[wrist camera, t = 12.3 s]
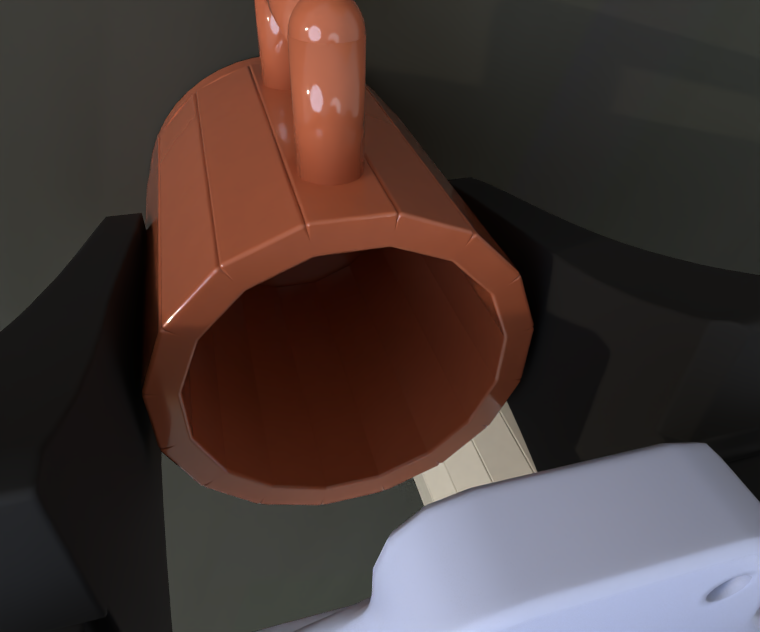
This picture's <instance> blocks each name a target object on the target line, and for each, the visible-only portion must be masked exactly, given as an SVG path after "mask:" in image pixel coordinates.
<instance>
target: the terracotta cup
mask: <svg viewBox="0 0 760 632" xmlns="http://www.w3.org/2000/svg"><path fill="white" fill-rule="evenodd" d="M254 3H255V14H256V24H257V35H258V45H259V56H260V57H255V58H251V59H247V60H244V61H240V62H237V63H234V64H232V65H229V66H227V67H225V68H222V69H220V70H218V71H216V72H215V73H213V74H211V75H210V76H208V77H206V78H205V79H203V80H202V81H200V82H199V83H198V84H197V85H196V86H194V87H193V88H192V89H191V90H189V91H188V92H187V93H186V94H185V95H184V96H183V98H182V99H181V100H180V101H179V102H178V103H177V104H176V105H175V107H174V108H173V109H172V111H171V112H170V114H169V115H168V117H167V118H166V120H165V122H164V124H163V126H162V128H161V130H160V132H159V134H158V136H157V139H156V142H155V146H154V149H153V152H152V158H151V165H150V175H149V179H148V184H147V204H146V252H145V279H144V317H143V355H142V398H143V402H144V405H145V408H146V411H147V414H148V417H149V420H150V423H151V426H152V429H153V432H154V436H155V439H156V442H157V445H158V446H159V448H160V450H161V452H163V453H164V454H165V455H166V456H167V457H168V458H169V459H171V460H172V461H173V462H174V463H175V464H176V465H178V466H179V467H180V468H181V469H182V470H183V471H185V472H186V473H187V474H188V475H189V476H190V477H192V478H193V479H194V480H195V481H196V482H197V483H199V484H200V485H202V486H203V485H204V486H205V487H206V488H209V489H212V490H215V491H219V492H222V493H225V494H228V495H231V496H234V497H237V498H241V499H244V500H247V501H250V502H253V503H256V504H257V503H261V504H263V505H321V504H324V505H325V504H330V503H334V502H339V501H343V500H348V499H352V498H356V497H361V496H365V495H370V494H374V493H378V492H381V491H383V490H388V489H390V488H392V487H394V486H396V485H398V484H400V483H402V482H404V481H407V480H409V479H411V478H413V477H415V476H417V475H419V474H421V473H423V472H426V471H428V470H430V469H432V468H434V467H436V466H438V465H439V463H443V462H444V461H445V460H447V459H448V458H449V457H450V456H452V455H453V454H454V453H455V452H457V451H458V450H459V449H461V448H462V447H463V446H464V445H466V444H467V443H468V442H469V441H471V440H472V439H473V438H474V437H476V436H477V435H478V434H479V433H481V432H482V431H483V430H484V429H486V427H487V426H489V425H490V424H491V422H492V421H493V419H494V418H495V417H496V415H497V414H498V412H499V411H500V410H501V408H502V407H503V405H504V404H505V403H506V401H507V400H508V398H509V397H510V396H511V394H512V393H513V391H514V390H515V389H516V387H517V386H518V384H519V383H520V381H521V378H522V376H523V372H524V368H525V364H526V360H527V356H528V352H529V348H530V344H531V340H532V336H533V332H534V328H533V326H534V322H533V318H532V314H531V310H530V307H529V303H528V299H527V295H526V292H525V288H524V284H523V280H522V276H521V275H520V274H519V271H518V270H517V269H516V267H515V266H514V265H513V263H512V262H511V261H510V260H509V258H508V257H507V256H506V254H505V253H504V252H503V251H502V249H501V248H500V247H499V245H498V244H497V243H496V242H495V240H494V239H493V238H492V237H491V235H490V234H489V233H488V231H487V230H486V229H485V228H484V226H483V225H482V224H481V222H480V221H479V220H478V219H477V217H476V216H475V215H474V213H473V212H472V211H471V210H470V208H469V207H468V206H467V204H466V203H465V202H464V201H463V199H462V198H461V197H460V196H459V194H458V193H457V192H456V190H455V189H454V188H453V187H452V185H451V184H450V183H449V181H448V180H447V179H446V178H445V176H444V175H443V174H442V172H441V171H440V170H439V169H438V167H437V166H436V165H435V164H434V162H433V161H432V160H431V158H430V157H429V156H428V155H427V153H426V152H425V151H424V149H423V148H422V147H421V146H420V144H419V143H418V142H417V140H416V139H415V138H414V137H413V135H412V134H411V133H410V132H409V130H408V129H407V128H406V126H405V125H404V124H403V123H402V121H401V120H400V119H399V117H398V116H397V115H396V114H395V113H394V112H393V111H392V110H391V109H390V108H389V107H388V106H387V105H386V104H385V103H384V101H383V100H382V99H381V98H380V97H379V96H378V95H377V93H376V92H375V91H374V90H373V89H371V88H370V87H369V86H368V85H367V84H366V83H365V80H366V26H365V21H364V17H363V15H362V13H361V11H360V9H359V7H358V5H357V4H356V3H355V2H354V0H254Z"/></svg>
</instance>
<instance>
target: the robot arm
mask: <svg viewBox="0 0 760 632" xmlns="http://www.w3.org/2000/svg"><path fill="white" fill-rule="evenodd" d="M448 181H449V183H450V184H451V185H452V187H453V188H454V189H455V190H456V192H457V193H458V194H459V196H460V197H461V198H462V199H463V201H464V202H465V203H466V204H467V206H468V207H469V208H470V210H471V211H472V212H473V213H474V215H475V216H476V217H477V219H478V220H479V221H480V222H481V224H482V225H483V226H484V228H485V229H486V230H487V231H488V233H489V234H490V235H491V237H492V238H493V239H494V240H495V242H496V243H497V244H498V245H499V247H500V248H501V249H502V251H503V252H504V253H505V254H506V256H507V257H508V258H509V260H510V261H511V262H512V263H513V265H514V266H515V267H516V269H517V270H518V271H519V274H520V275H521V276H522V280H523V284H524V288H525V292H526V295H527V299H528V303H529V307H530V310H531V314H532V318H533V322H534V326H533V328H534V332H533V336H532V340H531V344H530V348H529V352H528V356H527V360H526V364H525V368H524V372H523V376H522V378H521V381H520V383H519V384H518V386H517V387H516V389H515V390H514V391H513V393H512V394H511V396H510V397H509V398H508V400H507V403H508V405H509V407H510V409H511V412H512V414H513V416H514V418H515V421H516V423H517V425H518V427H519V429H520V432H521V434H522V436H523V439H524V441H525V443H526V446H527V448H528V451H529V453H530V455H531V458H532V460H533V463H534V465H535V467H536V470H537V472H536V473H532V474H528V475H523V476H519V477H515V478H510V479H506V480H502V481H498V482H493V483H489V484H485V485H480V486H476V487H472V488H469V489H466V490H464V491H461V492H458V493H456V494H453V495H451V496H448V497H446V498H443V499H440V500H438V501H435V502H433V503H430V504H428V505H426V506H424V507H423V508H422V509H421V510H419V511H418V512H417V513H415V514H414V515H413V516H412V517H410V518H409V519H408V520H406V521H405V522H404V523H403V524H401V525H400V526H399V527H397V528H396V529H395V530H394V531H392V533H391V534H390V536H389V538H388V539H387V541H386V543H385V545H384V547H383V549H382V551H381V553H380V555H379V557H378V559H377V561H376V564H375V566H374V568H373V580H372V597H370V598H367V599H365V600H363V601H360V602H358V603H356V604H354V605H351V606H347V607H343V608H339V609H336V610H332V611H328V612H324V613H321V614H317V615H313V616H309V617H306V618H302V619H298V620H295V621H291V622H287V623H283V624H280V625H276V626H272V627H268V628H265V629H261V630H257V631H253V632H760V275H755V274H749V273H743V272H737V271H731V270H725V269H720V268H715V267H710V266H705V265H700V264H696V263H692V262H688V261H684V260H680V259H676V258H672V257H667V256H663V255H660V254H656V253H653V252H649V251H646V250H643V249H640V248H637V247H634V246H631V245H627V244H624V243H621V242H618V241H615V240H612V239H610V238H607V237H604V236H602V235H599V234H596V233H594V232H591V231H589V230H587V229H584V228H582V227H579V226H577V225H575V224H572V223H570V222H568V221H565V220H563V219H561V218H559V217H556V216H554V215H552V214H550V213H548V212H546V211H544V210H541V209H539V208H537V207H535V206H533V205H531V204H529V203H527V202H525V201H523V200H521V199H519V198H517V197H515V196H513V195H511V194H509V193H507V192H504V191H502V190H500V189H498V188H496V187H494V186H492V185H489V184H487V183H485V182H482V181H480V180H477V179H474V178H461V179H452V180H448ZM145 252H146V228H145V224H144V220H143V216H142V213H137V214H128V215H119V216H110V217H105V219H104V220H103V221H102V222H101V223H100V225H99V226H98V227H97V228H96V230H95V231H94V232H93V233H92V235H91V236H90V237H89V238H88V240H87V241H86V242H85V244H84V245H83V246H82V247H81V249H80V250H79V251H78V252H77V254H76V255H75V256H74V257H73V259H72V260H71V261H70V262H69V263H68V265H67V266H66V267H65V268H64V269H63V270H62V272H61V273H60V274H59V275H58V276H57V278H56V279H55V280H54V281H53V282H52V283H51V284H50V285H49V286H48V287H47V288H46V289H45V290H44V291H43V292H42V293H41V294H40V295H39V296H38V297H37V298H36V299H35V301H34V302H33V303H32V304H31V305H30V306H29V307H28V308H27V309H26V310H25V311H23V312H22V313H21V314H20V315H19V316H18V317H17V318H16V319H15V320H14V321H13V322H11V323H10V324H9V325H8V326H7V327H6V328H4V329H3V330H2V331H1V332H0V632H172V622H171V610H170V596H169V583H168V570H167V556H166V540H165V525H164V508H163V489H162V469H161V450H160V448H159V446H158V445H157V442H156V439H155V436H154V432H153V429H152V426H151V423H150V420H149V417H148V414H147V411H146V408H145V405H144V402H143V398H142V355H143V317H144V279H145Z"/></svg>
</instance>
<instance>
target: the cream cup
mask: <svg viewBox="0 0 760 632" xmlns="http://www.w3.org/2000/svg"><path fill="white" fill-rule="evenodd" d="M536 472H537V470H536V467H535V465H534V463H533V460H532V458H531V455H530V453H529V451H528V448H527V446H526V443H525V441H524V439H523V436H522V434H521V432H520V429H519V427H518V425H517V423H516V421H515V418H514V416H513V414H512V412H511V409H510V407H509V405H508V403H507V401H506V403H505V404H504V405H503V407H502V408H501V410H500V411H499V412H498V414H497V415H496V417H495V418H494V419H493V421H492V422H491V424H490V425H489V426H487V427H486V429H484V430H483V431H482V432H481V433H479V434H478V435H477V436H476V437H474V438H473V439H472V440H471V441H469V442H468V443H467V444H466V445H464V446H463V447H462V448H461V449H459V450H458V451H457V452H455V453H454V454H453V455H452V456H450V457H449V458H448V459H447V460H445V461H444V462H443V463H439V465H438V466H436V467H434V468H432V469H430V470H428V471H426V472H423V473H421V474H419V475H417V476H415V477H413V478H414V480H415V483H416V486H417V488H418V491H419V493H420V496H421V499H422V501H423V504H424V506H426V505H428V504H430V503H433V502H435V501H438V500H440V499H443V498H446V497H448V496H451V495H453V494H456V493H458V492H461V491H464V490H466V489H469V488H472V487H476V486H480V485H485V484H489V483H493V482H498V481H502V480H506V479H510V478H515V477H519V476H523V475H528V474H532V473H536Z"/></svg>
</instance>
